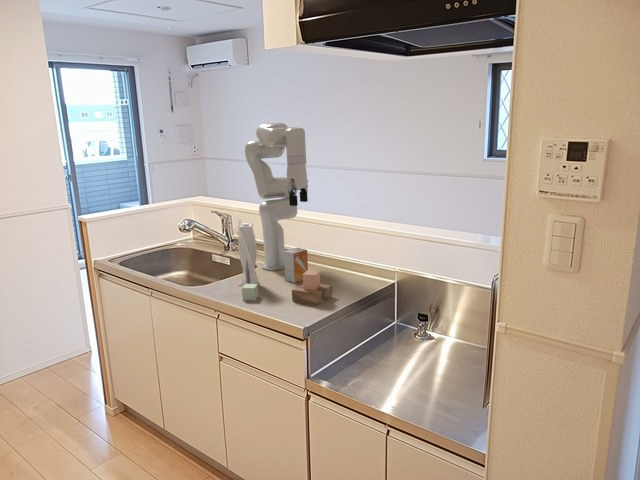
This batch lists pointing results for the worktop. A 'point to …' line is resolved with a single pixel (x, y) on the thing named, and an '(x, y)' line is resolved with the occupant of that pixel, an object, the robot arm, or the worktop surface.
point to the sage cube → (250, 291)
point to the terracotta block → (311, 280)
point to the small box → (295, 264)
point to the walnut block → (312, 295)
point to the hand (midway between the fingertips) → (298, 203)
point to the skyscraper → (247, 253)
